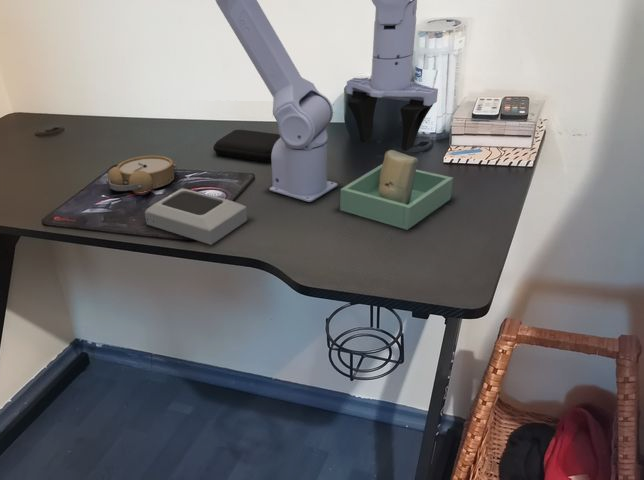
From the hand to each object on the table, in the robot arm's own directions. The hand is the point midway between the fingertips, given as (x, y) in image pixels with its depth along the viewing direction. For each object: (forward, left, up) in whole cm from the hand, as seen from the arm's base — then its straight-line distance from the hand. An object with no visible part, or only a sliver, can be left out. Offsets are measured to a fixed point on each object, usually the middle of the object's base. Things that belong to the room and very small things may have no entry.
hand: (386, 144), depth 101 cm
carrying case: (-34, +5, -10) cm, 36 cm away
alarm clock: (-42, -19, -10) cm, 47 cm away
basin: (+3, -1, -9) cm, 10 cm away
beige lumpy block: (+3, -1, -9) cm, 10 cm away
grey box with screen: (-21, -24, -10) cm, 33 cm away
